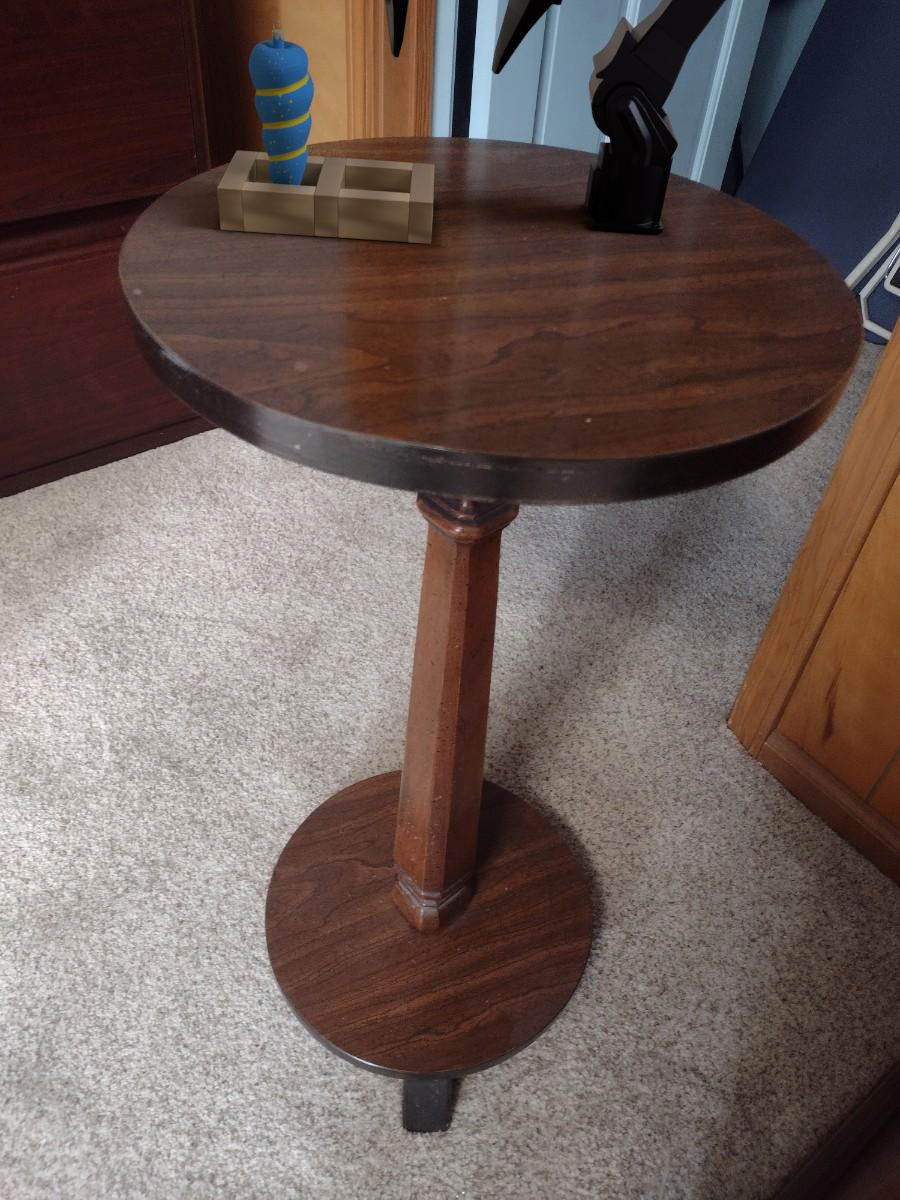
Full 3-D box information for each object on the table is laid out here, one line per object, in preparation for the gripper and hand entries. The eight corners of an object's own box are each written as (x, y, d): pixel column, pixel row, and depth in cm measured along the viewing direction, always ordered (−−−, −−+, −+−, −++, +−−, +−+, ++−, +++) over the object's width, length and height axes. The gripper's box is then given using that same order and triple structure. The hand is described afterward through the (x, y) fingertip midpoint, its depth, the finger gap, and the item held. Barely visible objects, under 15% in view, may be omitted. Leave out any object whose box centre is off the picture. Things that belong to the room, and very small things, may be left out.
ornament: (299, 227, 84) (292, 31, 74) (247, 216, 85) (233, 21, 75) (326, 209, 88) (323, 20, 78) (276, 198, 89) (266, 11, 79)
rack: (432, 203, 91) (434, 164, 89) (430, 244, 83) (433, 202, 81) (239, 189, 90) (236, 150, 88) (220, 230, 83) (216, 187, 80)
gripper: (563, -149, 82) (514, 53, 92) (348, -205, 75) (322, 18, 86) (614, -124, 74) (555, 92, 85) (380, -184, 68) (347, 58, 78)
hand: (445, 64), depth 83 cm, fingers open, 9 cm apart
